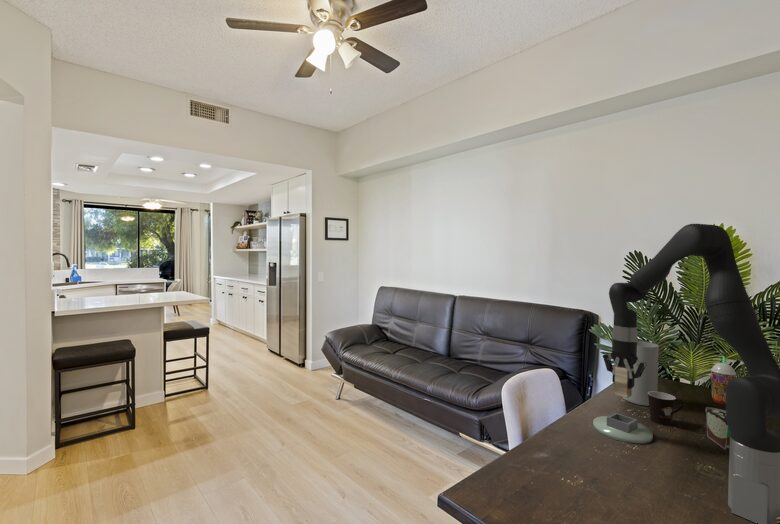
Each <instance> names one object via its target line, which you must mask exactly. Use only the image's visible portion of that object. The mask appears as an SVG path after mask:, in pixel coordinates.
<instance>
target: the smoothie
mask: <svg viewBox="0 0 780 524" xmlns="http://www.w3.org/2000/svg"><path fill="white" fill-rule="evenodd" d="M725 359H726V358H725V356H722V362H718V363H715V364H714V365H713V366H712V367H711V368H710V378H711V379H710V382H711V397H712V400H713V402H715V403H717V404H719V405H723V404H724V405H725V406H726V387H727V384H728V382H729V381H730V380H731V379H732V378H734V377H737V372H736V371H735V369H734V368H733V367H732V366H731V365H730V364H728V363H725Z"/></svg>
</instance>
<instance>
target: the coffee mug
mask: <svg viewBox="0 0 780 524" xmlns="http://www.w3.org/2000/svg"><path fill="white" fill-rule="evenodd" d="M648 400H649V406H648V408H649V416H650V419H649V420H650V421H651V422H653V423H654V424H658V425H661V426H671V425H672V424H673V423H672V422H673V417H674V414H675V413H677V412H679V411H681V409H682V408H683V407H684V402H683V400H682V399H679V398H676V397H675V396H674V395H673V394H670V393H666V392H662V391H657V392H656V391H651V392H648ZM677 401H678V402H680V407H678V409H677V408H676V410H675V405H676V402H677Z"/></svg>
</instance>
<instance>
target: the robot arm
mask: <svg viewBox="0 0 780 524" xmlns="http://www.w3.org/2000/svg"><path fill="white" fill-rule="evenodd" d="M690 256H691V257H692V256H694V257H702V258H703V261H704V263H705V264H706V268H707V271H708V274H709V275H708V276H709V281H708V284H707V288H706V291H705V295H704V306H705V310H706V313H707V316H708V317H709V318H708V319H709V321H710V323H711V325H712V327H713V329H714V330H715V332H716V333H717V334H718V335H719V336H720V337H721V338H722V339H723V340H724V341H725V342H726V343H727V344H728V345H729V346H730V347H731V348H732V349H733V350H734V351H735V352H736V353H737V355H738V357H740V359H741V360H742V363H743V365H744V367H745V369H746V372H747V375H748V376H747V375H745V376H744V375H743V376H742V375H741V376H736V377H734V378H732V379H731V380H730V381H729V382H728V384H727V387H726V405H725V411H726V420H727V424H728V427H729V429H730V450H729V453H728V454H729V456H728V458H729V459H728V460H729V461H728V485H727V486H728V487H727V488H728V493H727V494H728V496H727V499H728V500H727V505H728V507H729V509H730V510H731V513H732V514H734V515H737V516H739V517H741V518H743V519H746V520H748V521H750V522H752V523H755V524H757V523H758V524H771V523H774V522H775V521H776V518H777V517H778V516H780V434H778V433H776V432H774V431H772V430H770V429H768V427H767V417H768V418H771V417H773V418H774V417H775V418H777V417H780V366H779V364H778V362H777V360H776V358H775V357H774V354H773V352H772V350H771V348H770V346H769V343H768V341H767V339H766V336H765V335H764V331H763V329H762V327H761V325H760V322H759V319H758V315H757V313H756V311H755V308H754V306H753V303H752V300H751V299H750V297H749V294H748V292H747V289H746V287H745V284H744V282H743V279H742V276H741V273H740V271H739V268H738V264H737V261H736V257H735V253H734V248H733V244H732V241H731V238H730V235H729V233H728V232H727V230H725V228H724V227H722V226H719V225H715V224H707V223H689V224H686V225H683V227H681V228H680V229H679V230H678V231H677V232H676V233H675V234H674V235H673V236H672V237H671V238H670V239H669V240H668V241H667V242H666V243H665V245H664V246H663V247H662V248H661V249H660V250H659V251H658V252H657V254H655V256H654V257H652V258H651V259H650V260H649V261H648V262H646V263H645V264H644V265H643V266H641V267H640V268H639V269H638V270H637V271H635V272H634V273H632V274H631V275H630V278H629V281H630V282H614V283H613V284H612V285H611V286H610V288H609V289H608V290H609V291H608V298H609V301H610V305H611V309H612V312H613V324H612V326H613V327H612V332H611V333H612V336H611V338H612V339H611V341H612V342H611V350H612V351H611V353H605V354H603V355H602V358H603V361H604V364H605V368H606V370H607V372H610V373H612V377H611V378H612V383H613V385H614V386H615V367H618V366H620V367H624V368H626V369H627V370H628V376H629V378H628V389H631V388H632V387H634V380H635V378H639V377H641V375H642V373H643V371H644V369H645V367H646V364H647V363H646V362H642V361H640V360H638V358H637V341H638V324H637V323H638V314H637V311H635V310H634V309H630V308H629V307H628V304H627V303H638V302H640V301H641V300H643V299H644V298H645V297H646V296H647V294H648V293H649V292H650V290H651V289H653V288H655V287H656V286H658V285H659V284H661V283H662V282H663V281H664V280H666V279H667V278H668V276H669V275H670V273H671V270H672V268H673V266H674V265H675V264H676V263H678V262H679V261H681V260H683V259H685V258H688V257H690ZM612 360H613V362H614V364H613V363H612ZM635 363H637V366H638V369H637V371H636V373H635V372H634V366H633V365H634V364H635ZM630 368H631V369H630Z"/></svg>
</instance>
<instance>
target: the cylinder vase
mask: <svg viewBox="0 0 780 524" xmlns="http://www.w3.org/2000/svg"><path fill="white" fill-rule="evenodd" d="M659 347H660V345H659V344H657V343H652V342H649V341H641V340H637V358H638V360H640V361H642V362H646V363H647V364H646V367H645V369H644V371H643V373H642V375H641V377H639V378H635V380H634V387H632V396H630V397H628V398H624V397H622V398H623V399H624V400H625V401H627V402H629V403H632V404H635V405H639V406H647V407H649V400H648V392H651V391H656V392H658V387H659V386H658V384H659V383H658V382H659V381H658V380H659V352H660V351H659ZM633 366H634V372H635V373H636V371H637V369H638V366H637V363H635V364H634V365H633Z"/></svg>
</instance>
